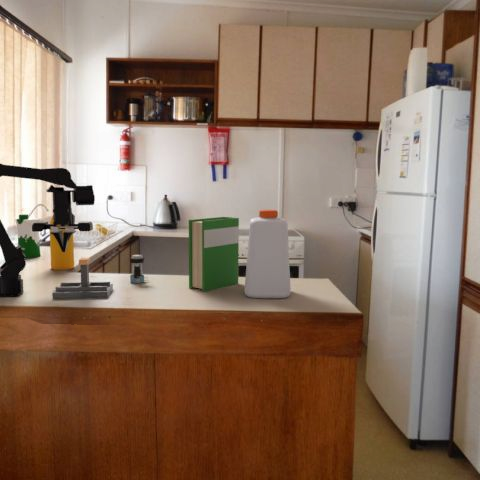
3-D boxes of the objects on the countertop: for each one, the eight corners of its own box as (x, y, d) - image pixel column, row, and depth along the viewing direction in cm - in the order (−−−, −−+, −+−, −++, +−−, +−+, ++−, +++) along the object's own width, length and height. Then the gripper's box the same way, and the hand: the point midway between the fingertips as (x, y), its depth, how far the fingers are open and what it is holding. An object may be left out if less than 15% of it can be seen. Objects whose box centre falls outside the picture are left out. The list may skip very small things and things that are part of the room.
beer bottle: (64, 270, 205) (62, 199, 201) (46, 269, 208) (43, 198, 204) (79, 266, 213) (76, 198, 210) (60, 265, 216) (58, 197, 212)
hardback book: (204, 291, 171) (204, 221, 168) (189, 288, 175) (188, 219, 172) (238, 283, 184) (238, 218, 181) (223, 280, 189) (223, 216, 186)
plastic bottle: (245, 288, 177) (245, 208, 173) (288, 288, 176) (290, 208, 172) (244, 298, 162) (244, 211, 158) (291, 299, 161) (293, 212, 157)
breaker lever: (79, 288, 163) (78, 260, 162) (82, 285, 168) (81, 257, 167) (88, 288, 164) (87, 259, 162) (91, 285, 168) (90, 257, 167)
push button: (146, 280, 188) (146, 253, 187) (149, 283, 183) (149, 255, 182) (128, 281, 186) (128, 254, 185) (131, 284, 181) (130, 256, 180)
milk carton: (15, 257, 236) (13, 214, 234) (32, 254, 244) (30, 213, 241) (26, 259, 231) (24, 215, 229) (43, 256, 239) (42, 214, 236)
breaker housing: (52, 299, 159) (52, 289, 159) (61, 290, 171) (61, 281, 171) (107, 298, 161) (107, 288, 161) (112, 289, 173) (112, 280, 173)
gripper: (95, 204, 177) (96, 248, 179) (40, 204, 175) (42, 248, 177) (89, 206, 166) (90, 253, 168) (30, 206, 164) (32, 253, 166)
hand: (63, 251), depth 170 cm, fingers closed
